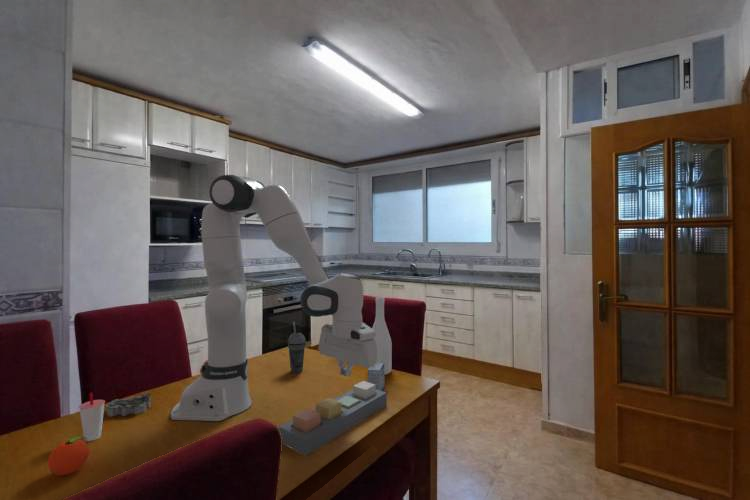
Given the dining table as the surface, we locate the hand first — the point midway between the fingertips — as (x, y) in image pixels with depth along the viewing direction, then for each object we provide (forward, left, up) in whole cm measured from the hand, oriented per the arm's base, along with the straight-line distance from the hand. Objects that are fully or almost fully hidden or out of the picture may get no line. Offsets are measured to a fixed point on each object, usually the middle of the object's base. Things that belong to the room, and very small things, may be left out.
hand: (345, 375), depth 104 cm
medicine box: (+12, +17, -13) cm, 24 cm away
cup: (-66, -3, -13) cm, 67 cm away
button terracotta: (-11, -11, -9) cm, 18 cm away
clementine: (-62, -17, -13) cm, 66 cm away
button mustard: (-5, -6, -9) cm, 12 cm away
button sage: (+1, 0, -11) cm, 11 cm away
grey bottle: (+16, +35, -13) cm, 40 cm away
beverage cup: (-17, +40, -13) cm, 45 cm away
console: (-2, -3, -12) cm, 13 cm away
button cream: (+6, +6, -9) cm, 12 cm away
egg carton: (-65, +12, -13) cm, 67 cm away
